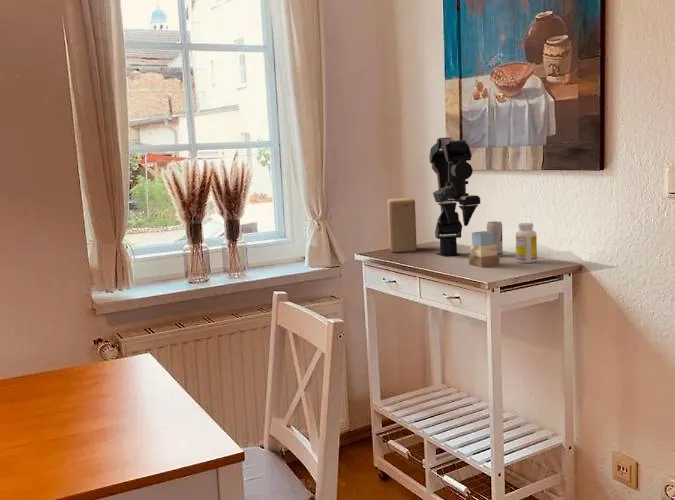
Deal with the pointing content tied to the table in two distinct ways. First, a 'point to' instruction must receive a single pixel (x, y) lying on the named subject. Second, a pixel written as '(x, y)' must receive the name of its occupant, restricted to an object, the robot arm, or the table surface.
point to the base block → (484, 261)
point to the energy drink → (496, 235)
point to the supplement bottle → (526, 244)
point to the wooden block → (402, 225)
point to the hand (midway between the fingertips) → (458, 224)
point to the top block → (482, 238)
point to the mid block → (483, 250)
